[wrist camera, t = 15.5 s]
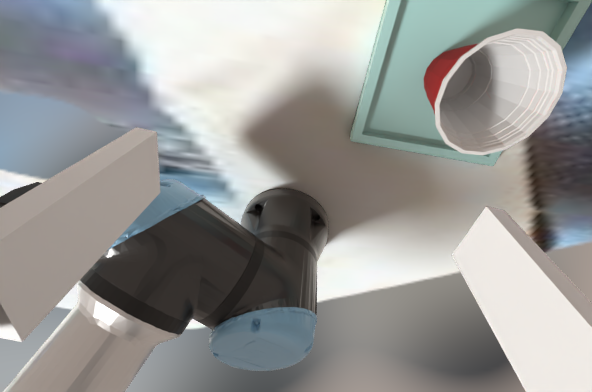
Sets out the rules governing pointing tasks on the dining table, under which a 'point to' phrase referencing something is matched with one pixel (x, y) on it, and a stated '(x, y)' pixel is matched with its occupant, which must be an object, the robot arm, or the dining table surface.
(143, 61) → the dining table surface
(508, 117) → the plastic cup
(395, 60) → the tray
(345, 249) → the dining table surface
